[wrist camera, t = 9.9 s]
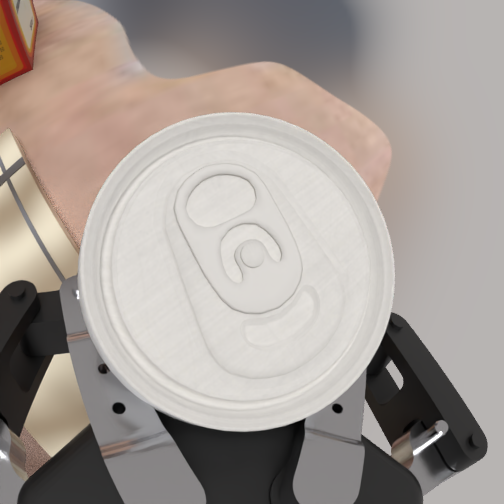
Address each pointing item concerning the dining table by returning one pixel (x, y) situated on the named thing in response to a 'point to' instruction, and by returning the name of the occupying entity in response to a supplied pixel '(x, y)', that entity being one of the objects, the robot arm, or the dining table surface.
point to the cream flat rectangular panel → (39, 286)
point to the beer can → (236, 272)
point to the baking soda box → (16, 38)
